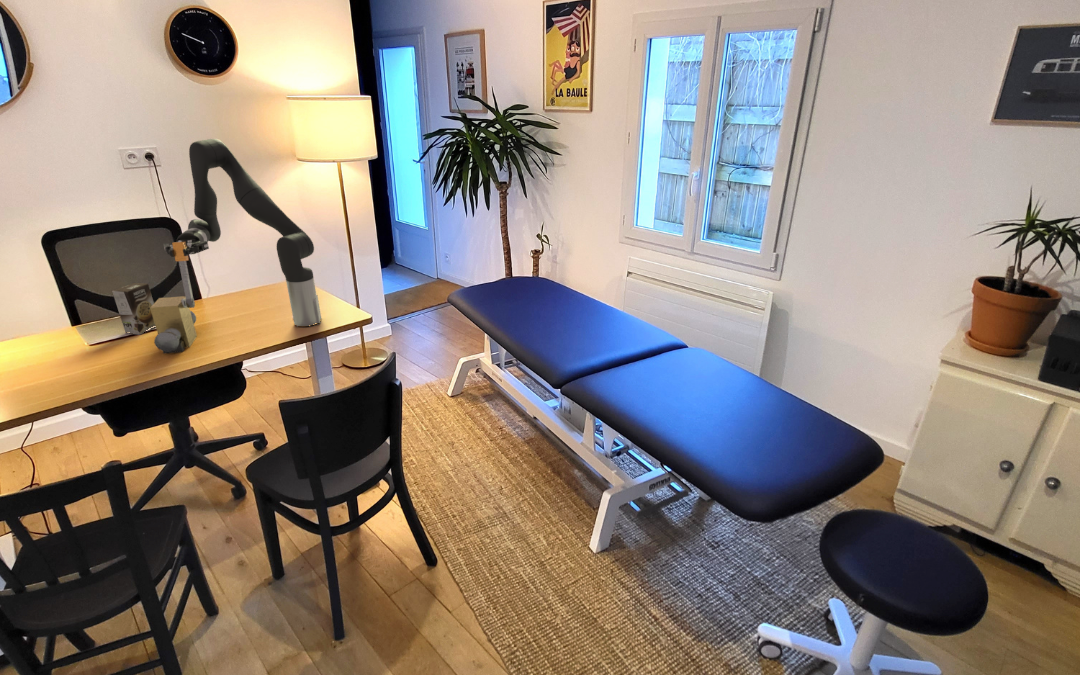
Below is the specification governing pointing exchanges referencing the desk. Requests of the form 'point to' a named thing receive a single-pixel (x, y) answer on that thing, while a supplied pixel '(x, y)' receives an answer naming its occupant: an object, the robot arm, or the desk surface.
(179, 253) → the lever
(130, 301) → the coffee box
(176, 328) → the block
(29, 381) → the desk surface
